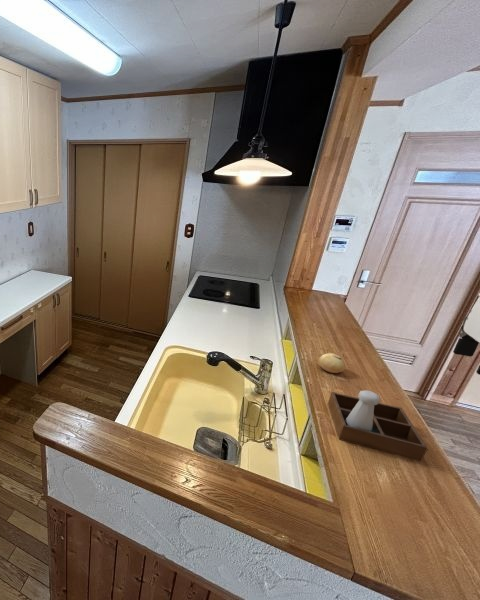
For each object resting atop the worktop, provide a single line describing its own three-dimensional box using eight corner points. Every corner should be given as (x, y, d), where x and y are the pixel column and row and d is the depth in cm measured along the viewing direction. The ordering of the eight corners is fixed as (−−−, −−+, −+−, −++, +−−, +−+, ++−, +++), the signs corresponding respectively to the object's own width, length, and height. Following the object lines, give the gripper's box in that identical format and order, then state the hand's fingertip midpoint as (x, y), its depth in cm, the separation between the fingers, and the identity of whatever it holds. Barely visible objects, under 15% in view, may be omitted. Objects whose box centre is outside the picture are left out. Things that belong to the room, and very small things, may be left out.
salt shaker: (349, 437, 89) (363, 398, 84) (338, 423, 94) (351, 385, 89) (374, 441, 87) (390, 401, 83) (362, 426, 93) (376, 388, 88)
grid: (327, 403, 103) (331, 391, 102) (396, 420, 96) (401, 408, 94) (339, 439, 89) (343, 425, 88) (420, 461, 82) (427, 447, 80)
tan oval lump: (318, 372, 120) (323, 355, 118) (315, 362, 127) (319, 346, 124) (344, 378, 117) (350, 361, 114) (340, 367, 123) (345, 351, 121)
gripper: (570, 310, 58) (525, 389, 64) (507, 284, 72) (475, 351, 78) (509, 303, 61) (471, 379, 67) (461, 279, 76) (433, 344, 82)
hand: (473, 364), depth 73 cm, fingers open, 9 cm apart
